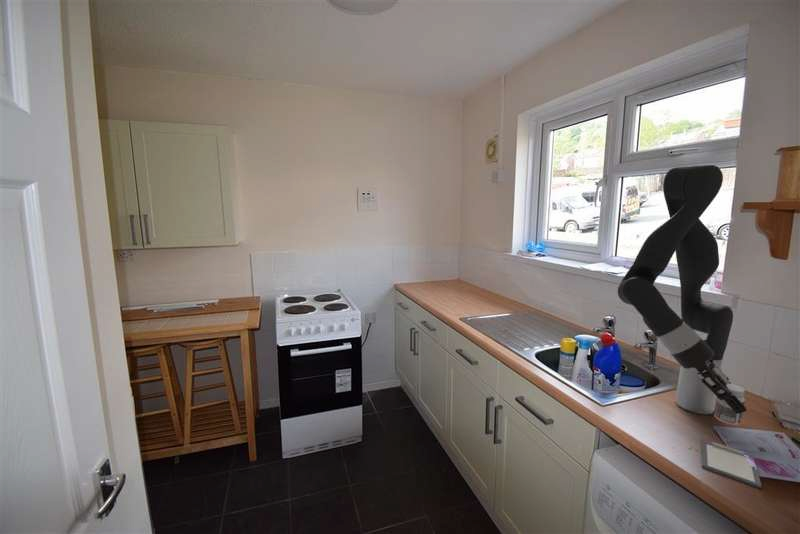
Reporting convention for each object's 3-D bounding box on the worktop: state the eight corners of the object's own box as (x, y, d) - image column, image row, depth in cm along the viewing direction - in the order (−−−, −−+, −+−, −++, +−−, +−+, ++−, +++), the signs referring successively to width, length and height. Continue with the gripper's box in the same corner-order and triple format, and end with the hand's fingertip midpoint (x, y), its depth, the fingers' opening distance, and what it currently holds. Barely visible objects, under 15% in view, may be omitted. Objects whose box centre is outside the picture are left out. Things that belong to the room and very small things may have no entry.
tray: (701, 442, 94) (701, 437, 94) (753, 459, 88) (754, 454, 88) (702, 467, 85) (702, 462, 85) (761, 488, 79) (762, 483, 78)
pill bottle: (727, 413, 88) (733, 382, 86) (746, 425, 83) (753, 392, 82) (708, 413, 88) (714, 382, 86) (726, 425, 83) (733, 392, 82)
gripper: (700, 345, 81) (764, 414, 76) (699, 329, 92) (754, 388, 87) (667, 360, 85) (726, 426, 80) (670, 343, 96) (721, 400, 91)
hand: (740, 406), depth 84 cm, fingers closed on pill bottle, 4 cm apart
